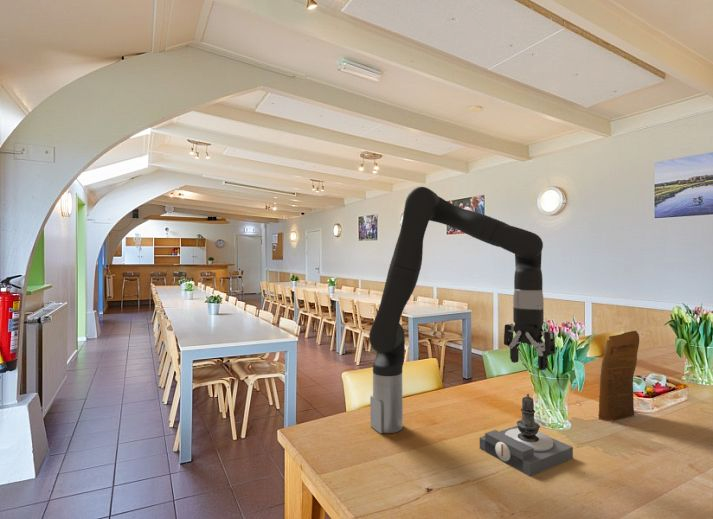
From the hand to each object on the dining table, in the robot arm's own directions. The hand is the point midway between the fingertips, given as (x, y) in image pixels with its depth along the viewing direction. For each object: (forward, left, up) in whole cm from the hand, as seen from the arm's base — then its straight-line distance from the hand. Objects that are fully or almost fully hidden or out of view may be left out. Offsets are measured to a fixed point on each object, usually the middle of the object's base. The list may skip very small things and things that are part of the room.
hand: (528, 365), depth 106 cm
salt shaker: (0, 0, -20) cm, 20 cm away
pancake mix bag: (+47, +1, -24) cm, 52 cm away
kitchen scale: (-1, 0, -23) cm, 23 cm away
